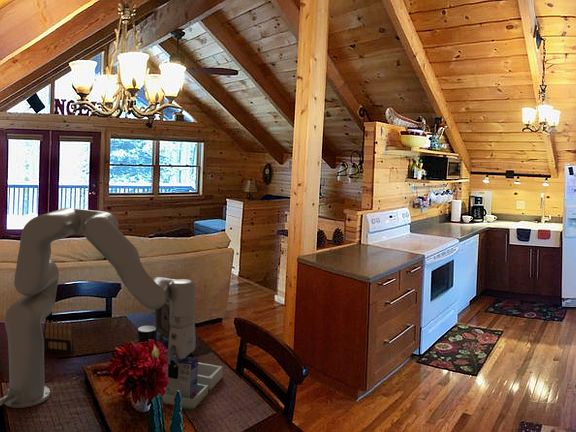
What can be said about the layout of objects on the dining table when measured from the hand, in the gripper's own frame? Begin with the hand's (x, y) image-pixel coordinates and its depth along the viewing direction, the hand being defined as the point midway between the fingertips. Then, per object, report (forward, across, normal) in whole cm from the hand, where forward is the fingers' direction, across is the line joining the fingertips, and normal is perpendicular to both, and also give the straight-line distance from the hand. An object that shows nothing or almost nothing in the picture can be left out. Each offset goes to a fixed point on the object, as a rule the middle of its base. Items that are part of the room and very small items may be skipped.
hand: (180, 371), depth 153 cm
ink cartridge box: (+8, 0, 0) cm, 8 cm away
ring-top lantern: (+9, +40, +25) cm, 48 cm away
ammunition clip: (+9, +15, +59) cm, 62 cm away
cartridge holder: (+9, +13, 0) cm, 16 cm away
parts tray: (+9, 0, 0) cm, 9 cm away
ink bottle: (+9, +21, +25) cm, 34 cm away
